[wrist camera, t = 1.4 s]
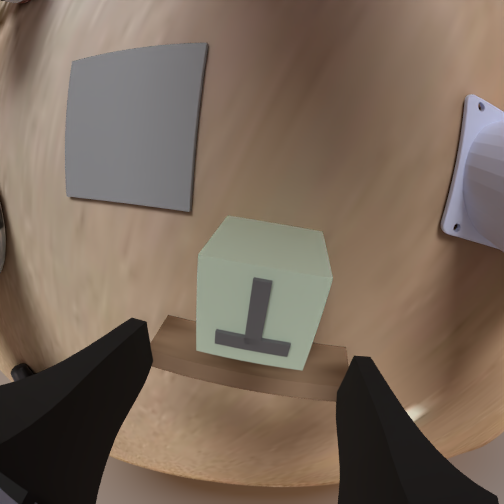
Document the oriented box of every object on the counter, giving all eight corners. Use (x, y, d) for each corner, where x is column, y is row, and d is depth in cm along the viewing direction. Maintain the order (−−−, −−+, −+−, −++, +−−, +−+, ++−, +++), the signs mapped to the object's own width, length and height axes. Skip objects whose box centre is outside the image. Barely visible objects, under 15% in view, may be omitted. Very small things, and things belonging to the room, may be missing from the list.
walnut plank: (345, 347, 17) (351, 387, 14) (338, 362, 18) (342, 401, 15) (168, 315, 18) (146, 349, 15) (169, 331, 19) (149, 365, 16)
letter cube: (322, 231, 15) (333, 281, 10) (303, 308, 17) (302, 373, 12) (227, 214, 15) (196, 257, 10) (221, 294, 17) (195, 353, 12)
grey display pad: (208, 44, 11) (206, 42, 11) (191, 210, 15) (189, 211, 15) (75, 61, 12) (72, 61, 12) (69, 195, 16) (66, 196, 15)
